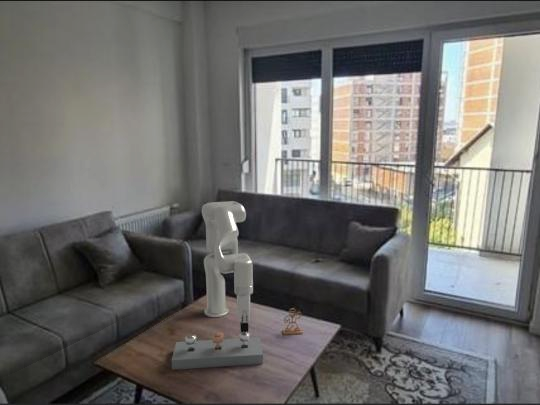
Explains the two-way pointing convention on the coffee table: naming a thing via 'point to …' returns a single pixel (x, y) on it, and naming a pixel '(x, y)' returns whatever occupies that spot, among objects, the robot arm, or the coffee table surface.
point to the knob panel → (217, 354)
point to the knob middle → (217, 339)
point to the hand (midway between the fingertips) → (244, 330)
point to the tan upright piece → (295, 330)
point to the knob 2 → (244, 337)
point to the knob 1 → (190, 340)
